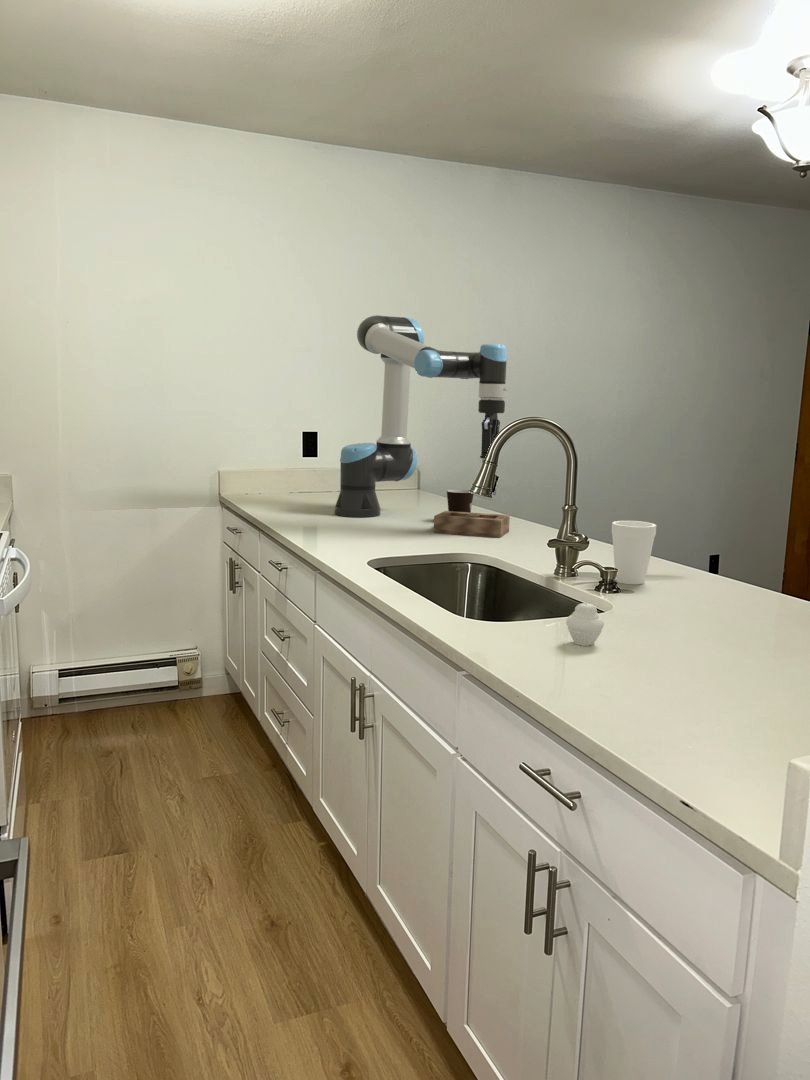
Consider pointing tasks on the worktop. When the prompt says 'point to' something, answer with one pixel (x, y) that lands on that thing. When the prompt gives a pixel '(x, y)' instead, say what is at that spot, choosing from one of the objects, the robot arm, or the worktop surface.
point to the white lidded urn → (585, 624)
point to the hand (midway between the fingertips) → (489, 480)
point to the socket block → (471, 524)
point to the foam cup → (632, 549)
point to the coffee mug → (459, 500)
